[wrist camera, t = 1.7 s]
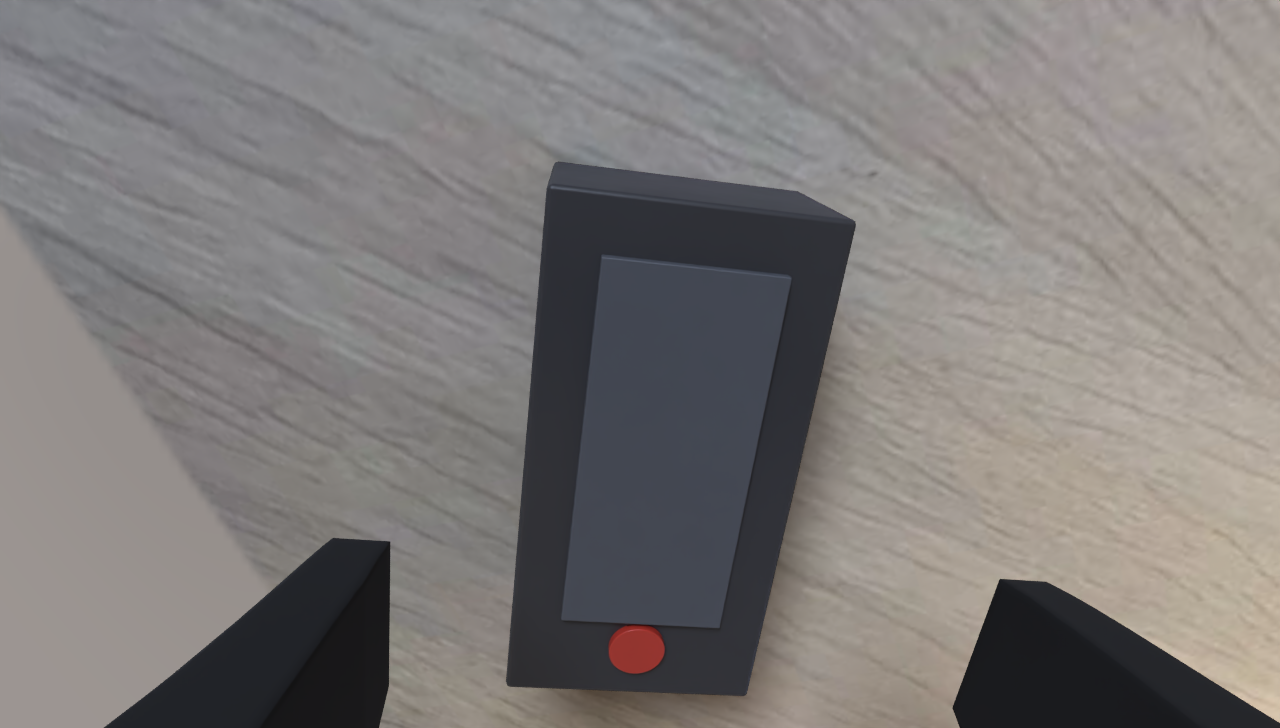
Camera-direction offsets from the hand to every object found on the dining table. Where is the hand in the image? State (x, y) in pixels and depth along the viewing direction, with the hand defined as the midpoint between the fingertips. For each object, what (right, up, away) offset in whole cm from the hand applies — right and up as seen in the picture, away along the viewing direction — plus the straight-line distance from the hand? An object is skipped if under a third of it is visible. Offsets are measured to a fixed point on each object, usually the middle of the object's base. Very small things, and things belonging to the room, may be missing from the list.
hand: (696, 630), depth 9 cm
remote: (0, +2, +6) cm, 7 cm away
